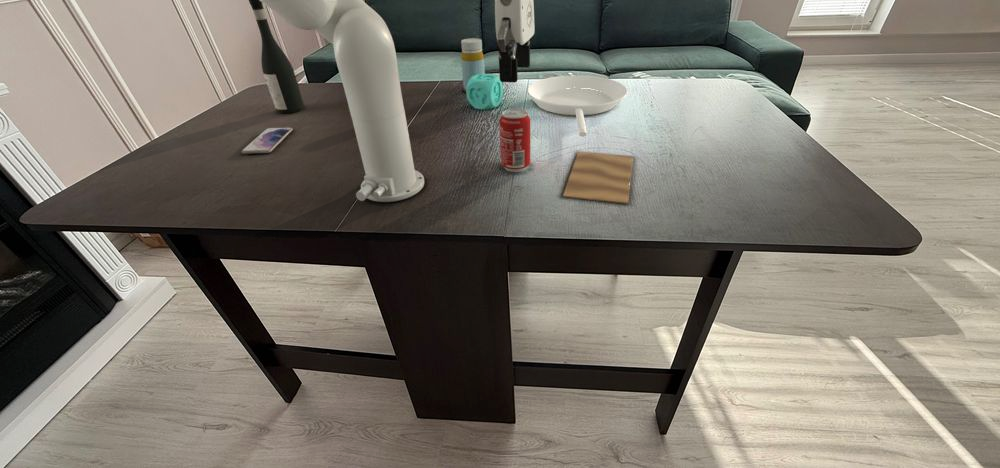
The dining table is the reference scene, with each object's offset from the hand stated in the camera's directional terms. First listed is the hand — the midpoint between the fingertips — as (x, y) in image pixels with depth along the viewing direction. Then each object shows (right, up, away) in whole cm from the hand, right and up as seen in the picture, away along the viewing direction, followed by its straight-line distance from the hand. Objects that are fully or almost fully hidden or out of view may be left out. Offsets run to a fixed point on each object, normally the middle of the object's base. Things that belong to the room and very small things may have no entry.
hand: (515, 74), depth 80 cm
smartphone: (-62, -7, +28) cm, 68 cm away
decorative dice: (-7, +7, +45) cm, 46 cm away
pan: (+18, +3, +37) cm, 41 cm away
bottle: (-11, +16, +57) cm, 60 cm away
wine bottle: (-66, +7, +48) cm, 82 cm away
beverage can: (0, -16, +11) cm, 20 cm away
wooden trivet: (+18, -18, +7) cm, 26 cm away
